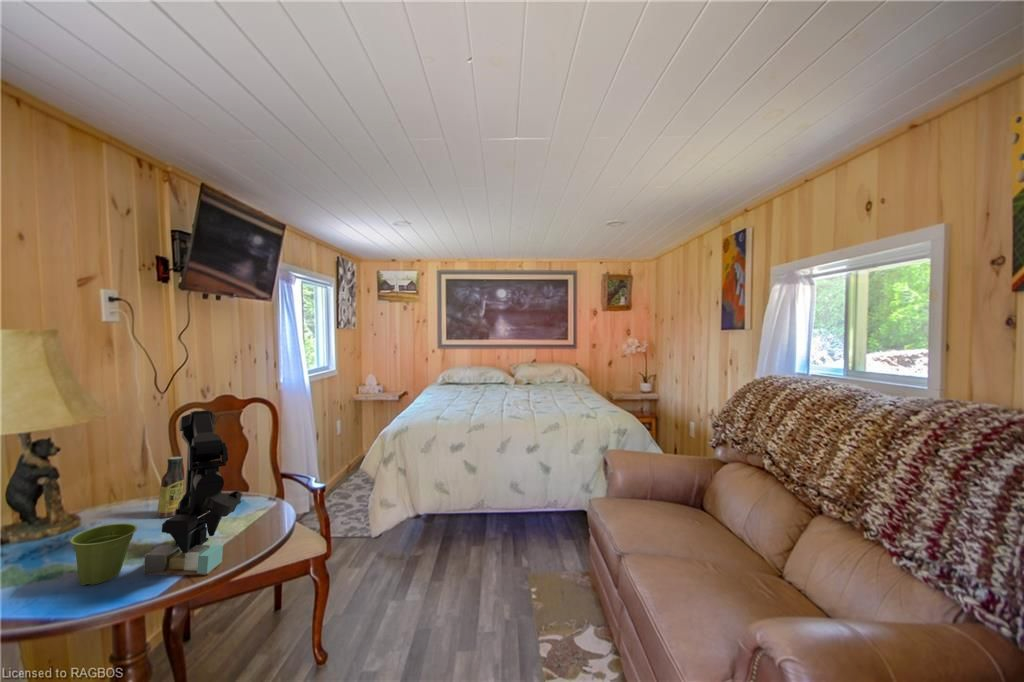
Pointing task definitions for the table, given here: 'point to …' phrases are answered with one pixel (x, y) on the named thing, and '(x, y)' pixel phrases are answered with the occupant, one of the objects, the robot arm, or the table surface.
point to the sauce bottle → (171, 488)
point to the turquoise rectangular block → (210, 559)
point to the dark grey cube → (159, 558)
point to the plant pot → (102, 551)
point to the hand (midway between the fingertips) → (198, 544)
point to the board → (177, 572)
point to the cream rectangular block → (186, 558)
